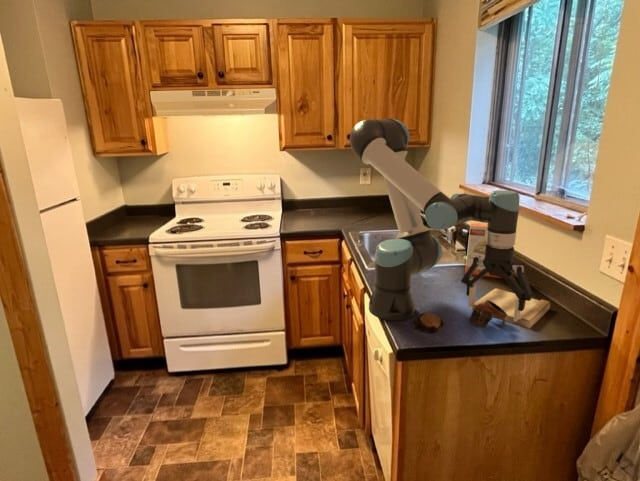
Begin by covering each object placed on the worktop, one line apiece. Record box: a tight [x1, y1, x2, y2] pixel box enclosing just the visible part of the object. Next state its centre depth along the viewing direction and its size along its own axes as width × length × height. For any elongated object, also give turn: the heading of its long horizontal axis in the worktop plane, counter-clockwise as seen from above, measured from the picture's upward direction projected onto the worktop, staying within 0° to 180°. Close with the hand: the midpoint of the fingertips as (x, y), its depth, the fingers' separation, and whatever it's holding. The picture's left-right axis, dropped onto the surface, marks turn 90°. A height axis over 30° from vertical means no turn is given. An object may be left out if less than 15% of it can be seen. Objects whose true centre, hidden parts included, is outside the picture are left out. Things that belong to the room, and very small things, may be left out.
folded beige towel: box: [471, 287, 551, 329], centre depth 130 cm, size 18×18×3 cm
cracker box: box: [464, 222, 503, 279], centre depth 157 cm, size 14×6×21 cm, turn 70°
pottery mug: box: [469, 300, 507, 328], centre depth 120 cm, size 12×10×8 cm
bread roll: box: [412, 312, 445, 335], centre depth 121 cm, size 11×8×4 cm
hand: (492, 312), depth 118 cm, fingers open, 13 cm apart
